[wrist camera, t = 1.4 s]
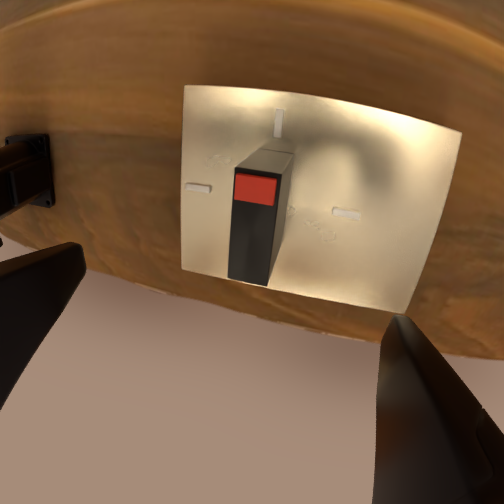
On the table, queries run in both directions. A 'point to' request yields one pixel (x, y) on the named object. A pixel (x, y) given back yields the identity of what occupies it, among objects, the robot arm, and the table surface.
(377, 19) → the table surface
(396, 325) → the robot arm
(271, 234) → the stove knob
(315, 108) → the panel
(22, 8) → the table surface
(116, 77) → the table surface
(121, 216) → the table surface
